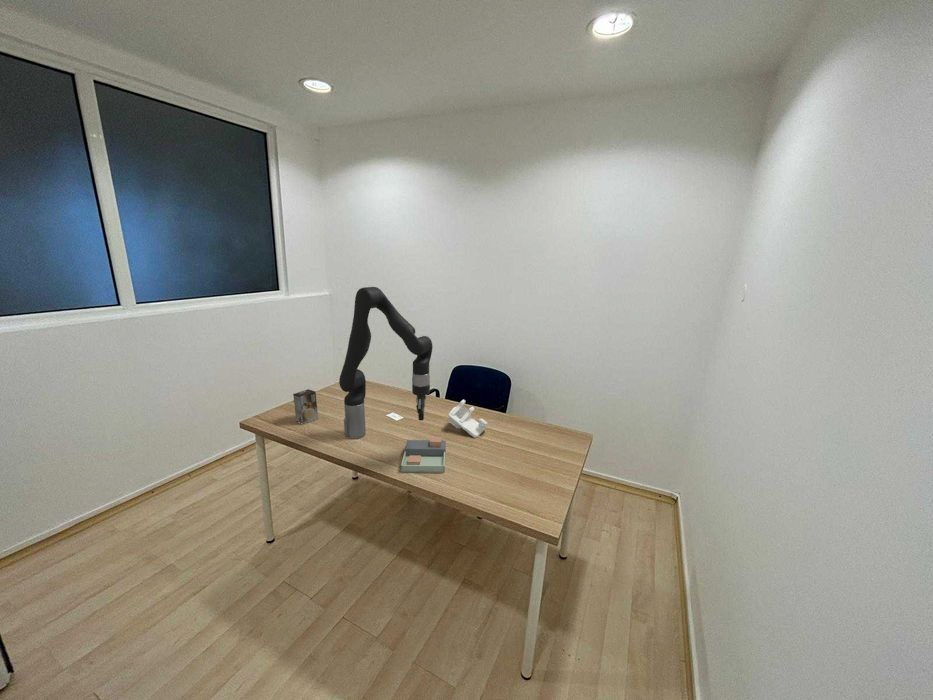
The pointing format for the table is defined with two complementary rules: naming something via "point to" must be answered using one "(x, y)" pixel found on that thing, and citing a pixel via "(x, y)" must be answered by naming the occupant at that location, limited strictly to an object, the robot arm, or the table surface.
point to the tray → (424, 464)
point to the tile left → (414, 460)
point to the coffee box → (305, 406)
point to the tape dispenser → (466, 420)
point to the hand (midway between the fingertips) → (421, 419)
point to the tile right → (435, 441)
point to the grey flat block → (424, 448)
